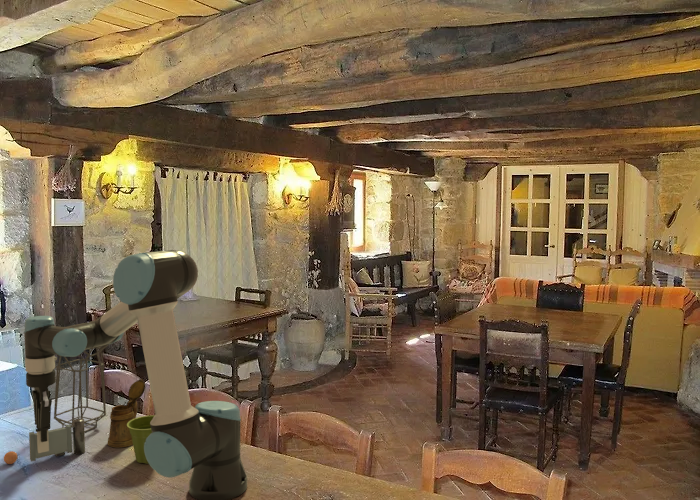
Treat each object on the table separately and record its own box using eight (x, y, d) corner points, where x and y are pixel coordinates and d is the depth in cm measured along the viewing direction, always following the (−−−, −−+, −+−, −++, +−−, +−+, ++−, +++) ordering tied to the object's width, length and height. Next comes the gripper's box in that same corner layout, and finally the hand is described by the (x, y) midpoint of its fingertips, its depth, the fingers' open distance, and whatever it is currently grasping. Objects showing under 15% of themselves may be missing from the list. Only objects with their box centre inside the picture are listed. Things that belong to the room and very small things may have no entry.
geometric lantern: (83, 417, 214) (83, 318, 211) (115, 426, 207) (116, 324, 204) (42, 432, 200) (42, 326, 197) (76, 442, 193) (76, 333, 190)
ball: (15, 449, 176) (3, 450, 176) (11, 461, 174) (-1, 462, 174) (21, 452, 179) (9, 453, 179) (18, 465, 177) (6, 465, 177)
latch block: (65, 454, 183) (64, 435, 182) (56, 456, 182) (55, 437, 181) (63, 452, 185) (62, 433, 184) (54, 454, 183) (54, 435, 183)
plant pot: (178, 456, 182) (177, 420, 181) (145, 471, 173) (144, 432, 172) (152, 447, 189) (151, 412, 188) (119, 461, 179) (118, 423, 178)
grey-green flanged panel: (70, 450, 184) (69, 424, 183) (72, 452, 183) (71, 426, 182) (30, 459, 177) (29, 432, 177) (31, 461, 176) (30, 434, 175)
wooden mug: (154, 434, 199) (153, 380, 197) (122, 450, 187) (121, 392, 185) (133, 429, 203) (132, 376, 201) (101, 444, 191) (99, 388, 189)
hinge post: (86, 452, 184) (85, 420, 184) (75, 455, 182) (74, 423, 182) (83, 449, 187) (82, 417, 186) (72, 452, 185) (71, 419, 184)
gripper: (60, 373, 171) (63, 455, 173) (49, 363, 181) (51, 441, 183) (31, 378, 167) (33, 462, 168) (21, 368, 177) (24, 447, 178)
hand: (43, 451), depth 176 cm, fingers closed
